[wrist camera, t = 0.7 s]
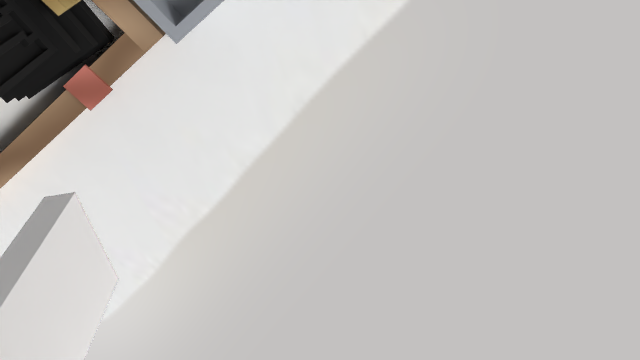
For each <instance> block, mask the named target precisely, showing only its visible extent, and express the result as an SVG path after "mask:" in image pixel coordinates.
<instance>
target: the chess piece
mask: <svg viewBox="0 0 640 360" xmlns="http://www.w3.org/2000/svg"><path fill="white" fill-rule="evenodd" d="M113 39H114V37H113V36H112V34H111V33H110V32H109V31H108V30H107V28H106V27H105V26H104V25H103V24H102V22H101V21H100V20H99V19H98V18H97V16H96V15H95V14H94V13H93V12H92V10H91V9H90V8H89V7H88V6H87V4H86V3H85V2H84V1H83V0H81V1H79V2H78V3H77V4H75V5H74V6H72V7H71V8H69V9H68V10H67V11H65V12H64V13H62V14H61V15H59V16H58V15H57V14H56V13H55V12H54V11H53V10H52V9H51V8H49V7H48V6H47V5H46V4H45V3H44V2H43V1H42V0H0V97H1V98H2V99H3V100H4V101H5V102H6V103H8V102H9V101H11V100H12V99H14V98H16V99H17V100H18V101H19V100H21V99H22V98H24V97H25V96H27V97H28V98H29V99H30V98H31V97H33V96H34V95H36V94H37V93H38V92H40V91H41V90H43V89H44V88H46V87H47V86H48V85H50V84H51V83H53V82H54V81H56V80H57V79H58V78H60V77H61V76H63V75H64V74H65V73H67V72H68V71H70V70H71V69H73V68H74V67H75V66H77V65H78V64H80V63H81V62H83V61H84V60H85V59H87V58H88V57H90V56H91V55H93V54H94V53H95V52H97V51H98V50H100V49H101V48H103V47H104V46H105V45H107V44H108V43H110V42H111V41H112V40H113Z"/></svg>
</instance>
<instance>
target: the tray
mask: <svg viewBox="0 0 640 360" xmlns="http://www.w3.org/2000/svg"><path fill="white" fill-rule="evenodd" d="M134 1H135V2H136V3H137V4H138V5H139V6H140V8H141V9H142V10H143V11H144V12H145V13H146V14H147V15H148V16H149V17H150V18H151V19H152V20H153V21H154V22H155V23H156V24H157V25H158V26H159V27H160V28H161V29H162V30H163V31H164V32H165V33H166V34H167V35H168V36H169V37H170V38H171V39H172V40H173V41H174V42H175V43H176V44H177V43H178V42H179V41H180V40H181V39H182V38H184V37H185V36H186V35H187V34H188V33H189V32H190V31H191V30H192V29H193V28H194V27H196V26H197V25H198V24H199V23H200V22H201V21H202V20H203V19H204V18H205V17H206V16H208V15H209V14H210V13H211V12H212V11H213V10H214V9H215V8H216V7H217V6H218V5H220V4H221V3H222V2H223V1H224V0H134Z"/></svg>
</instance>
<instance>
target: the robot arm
mask: <svg viewBox="0 0 640 360" xmlns="http://www.w3.org/2000/svg"><path fill="white" fill-rule="evenodd" d="M118 280H119V278H118V276H117V274H116V272H115V270H114V268H113V266H112V264H111V262H110V260H109V258H108V256H107V254H106V252H105V250H104V248H103V246H102V244H101V242H100V240H99V238H98V236H97V234H96V232H95V230H94V228H93V226H92V224H91V222H90V220H89V218H88V217H87V215H86V213H85V211H84V209H83V207H82V205H81V203H80V201H79V199H78V197H77V195H76V193H75V192H73V193H67V194H61V195H55V196H48V197H44V198H43V200H42V201H41V203H40V204H39V205H38V207H37V208H36V209H35V211H34V212H33V214H32V215H31V216H30V218H29V219H28V221H27V222H26V223H25V225H24V226H23V227H22V229H21V230H20V232H19V233H18V234H17V236H16V237H15V239H14V240H13V241H12V243H11V244H10V245H9V247H8V248H7V250H6V251H5V252H4V254H3V255H2V257H1V258H0V360H84V359H85V357H86V354H87V352H88V350H89V348H90V345H91V343H92V341H93V338H94V336H95V334H96V331H97V329H98V327H99V324H100V322H101V320H102V318H103V315H104V313H105V311H106V308H107V306H108V304H109V301H110V299H111V297H112V294H113V292H114V290H115V287H116V285H117V283H118Z"/></svg>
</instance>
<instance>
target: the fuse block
mask: <svg viewBox="0 0 640 360" xmlns="http://www.w3.org/2000/svg"><path fill="white" fill-rule="evenodd" d="M42 1H43V2H44V3H45V4H46V5H47V6H48V7H49V8H51V9H52V10H53V11H54V12H55V13H56V14H57V15H58V16H59V15H61V14H62V13H64V12H65V11H67V10H68V9H69V8H71V7H72V6H74V5H75V4H77V3H78V2H79V1H81V0H42ZM92 1H93V2H94V3H95V4H96V5H97V6H98V7H99V8H100V9H101V10H102V11H103V12H104V13H105V14H106V15H107V16H108V17H109V18H110V19H111V20H112V21H113V22H114V23H115V24H116V25H117V26H118V27H120V28H121V29H122V30H123V31H124V32H125V33H124V34H123V35H122V36H121V37H120V38H119V39H118V40H117V41H116V42H114V43H113V44H112V45H111V46H110V47H109V48H108V49H107V50H106V51H105V52H104V53H103V54H102V55H101V56H100V57H99V58H98V59H97V60H96V61H95V62H94V63H93V64H92V65H91V66H90V67H88V66H87V65H86V64H85V65H84V66H83V67H82V68H81V69H80V70H79V71H78V72H77V73H76V74H75V75H74V76H73V77H72V78H71V79H70V80H69V81H68V82H67V83H66V84H65V85H64V86H63V87H64V88H65V89H66V90H65V91H64V92H63V93H62V94H61V95H60V96H59V97H58V98H57V99H56V100H55V101H54V102H53V103H52V104H51V105H50V106H49V107H48V108H47V109H46V110H44V111H43V112H42V113H41V114H40V115H39V116H38V117H37V118H36V119H35V120H34V121H33V122H32V123H31V124H30V125H29V126H28V127H27V128H26V129H25V130H24V131H23V132H22V133H21V134H20V135H19V136H18V137H17V138H16V139H15V140H14V141H13V142H12V143H10V144H9V145H8V146H7V147H6V148H5V149H4V150H3V151H2V152H1V153H0V188H1V187H3V186H4V185H5V184H6V183H7V182H8V181H9V180H10V179H11V178H12V177H13V176H14V175H15V174H16V173H17V172H19V171H20V170H21V169H22V168H23V167H24V166H25V165H26V164H27V163H28V162H29V161H30V160H31V159H32V158H34V157H35V156H36V155H37V154H38V153H39V152H40V151H41V150H42V149H43V148H44V147H45V146H46V145H47V144H49V143H50V142H51V141H52V140H53V139H54V138H55V137H56V136H57V135H58V134H59V133H60V132H61V131H62V130H64V129H65V128H66V127H67V126H68V125H69V124H70V123H71V122H72V121H73V120H74V119H75V118H76V117H77V116H78V115H80V114H81V113H82V112H83V111H84V110H85V109H86V108H88V109H89V110H90V111H91V110H92V109H93V108H94V107H95V106H96V105H97V104H98V103H99V102H100V101H101V100H103V99H104V98H105V97H106V96H107V95H108V94H109V93H110V92H111V91H112V90H113V89H112V88H111V87H110V86H111V85H112V84H113V83H114V82H115V81H116V80H117V79H118V78H119V77H120V76H121V75H122V74H123V73H125V72H126V71H127V70H128V69H129V68H130V67H131V66H132V65H133V64H134V63H135V62H136V61H137V60H138V59H139V58H141V57H142V56H143V55H144V54H145V53H146V52H147V51H148V50H149V49H150V48H151V47H152V46H153V45H154V44H156V43H157V42H158V41H159V40H160V39H161V38H162V37H163V36H164V35H165V32H164V31H163V30H162V29H161V28H160V27H159V26H158V25H157V24H156V23H155V22H154V21H153V20H152V19H151V18H150V17H149V16H148V15H147V14H146V13H145V12H144V11H143V10H142V9H141V8H140V6H139V5H138V4H137V3H136V2H135V1H134V0H92Z"/></svg>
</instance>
